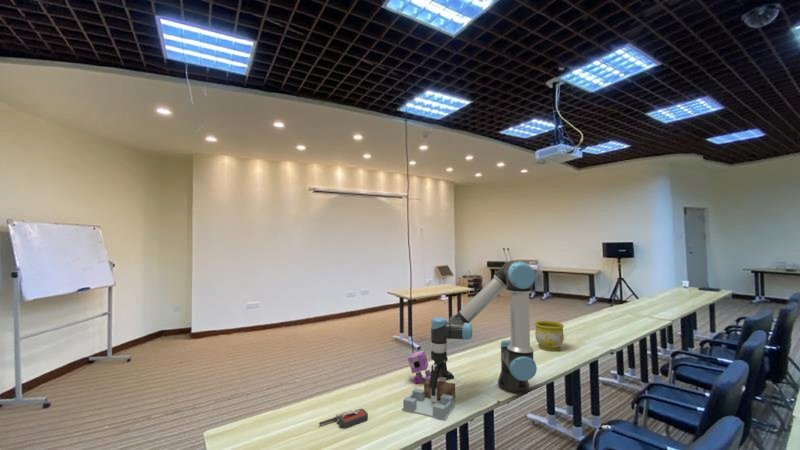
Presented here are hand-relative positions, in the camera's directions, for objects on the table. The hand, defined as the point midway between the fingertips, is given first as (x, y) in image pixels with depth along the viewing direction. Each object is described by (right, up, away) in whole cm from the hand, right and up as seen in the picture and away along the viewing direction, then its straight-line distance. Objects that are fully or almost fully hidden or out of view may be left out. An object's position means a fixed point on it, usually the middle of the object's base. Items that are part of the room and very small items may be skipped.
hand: (438, 396), depth 164 cm
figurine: (+5, -2, +24) cm, 24 cm away
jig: (-6, 0, -10) cm, 11 cm away
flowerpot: (+84, -2, +70) cm, 109 cm away
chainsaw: (-42, -1, -21) cm, 46 cm away
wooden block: (0, -1, 0) cm, 1 cm away
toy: (-8, -2, +20) cm, 21 cm away
